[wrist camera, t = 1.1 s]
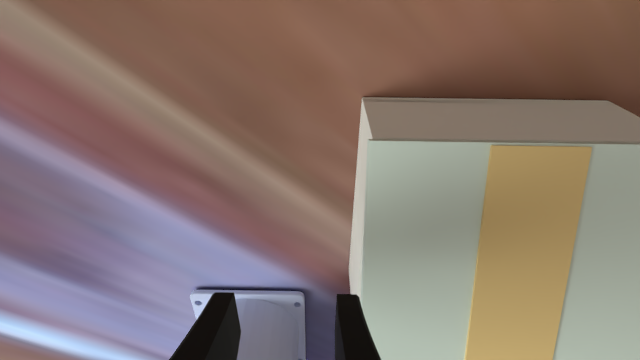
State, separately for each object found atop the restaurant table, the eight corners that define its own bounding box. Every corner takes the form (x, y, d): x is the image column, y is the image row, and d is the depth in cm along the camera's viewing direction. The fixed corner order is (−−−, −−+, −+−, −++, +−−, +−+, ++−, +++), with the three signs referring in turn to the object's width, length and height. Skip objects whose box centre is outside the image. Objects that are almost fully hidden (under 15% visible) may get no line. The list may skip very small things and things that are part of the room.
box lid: (627, 414, 16) (640, 428, 15) (355, 409, 16) (357, 423, 15) (694, 143, 13) (715, 146, 13) (367, 138, 13) (370, 141, 13)
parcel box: (526, 273, 24) (564, 333, 20) (348, 270, 24) (353, 330, 20) (607, 100, 17) (687, 142, 13) (362, 97, 17) (372, 137, 13)
